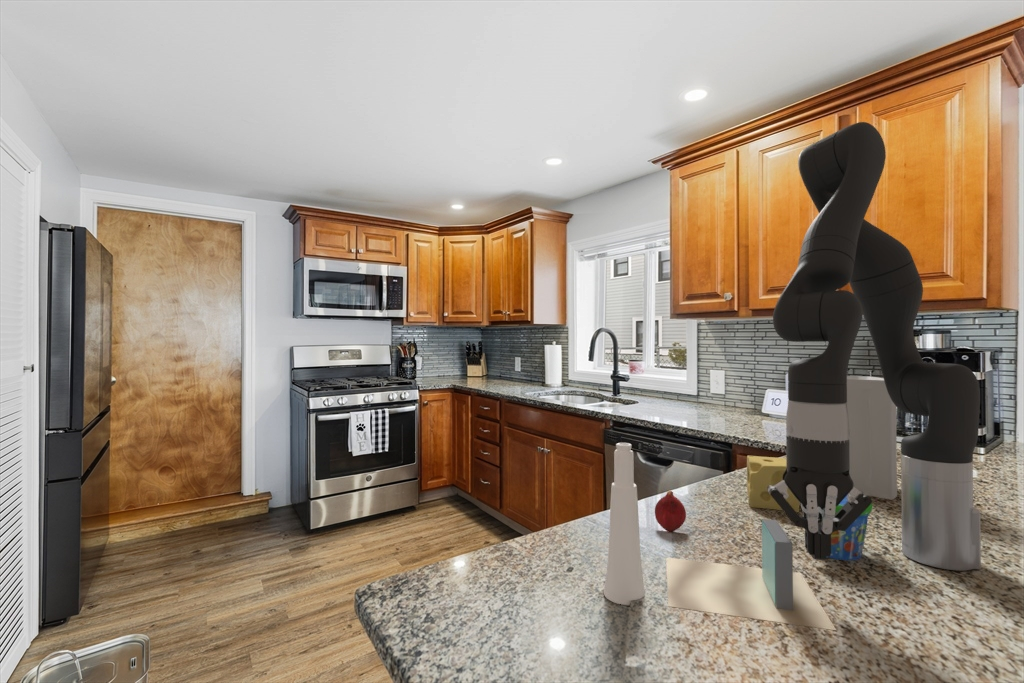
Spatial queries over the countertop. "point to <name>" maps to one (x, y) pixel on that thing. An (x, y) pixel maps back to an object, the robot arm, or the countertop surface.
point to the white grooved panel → (872, 437)
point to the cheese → (766, 482)
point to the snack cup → (850, 537)
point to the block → (777, 564)
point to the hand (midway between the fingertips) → (817, 557)
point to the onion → (670, 512)
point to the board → (739, 593)
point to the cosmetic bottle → (624, 533)
